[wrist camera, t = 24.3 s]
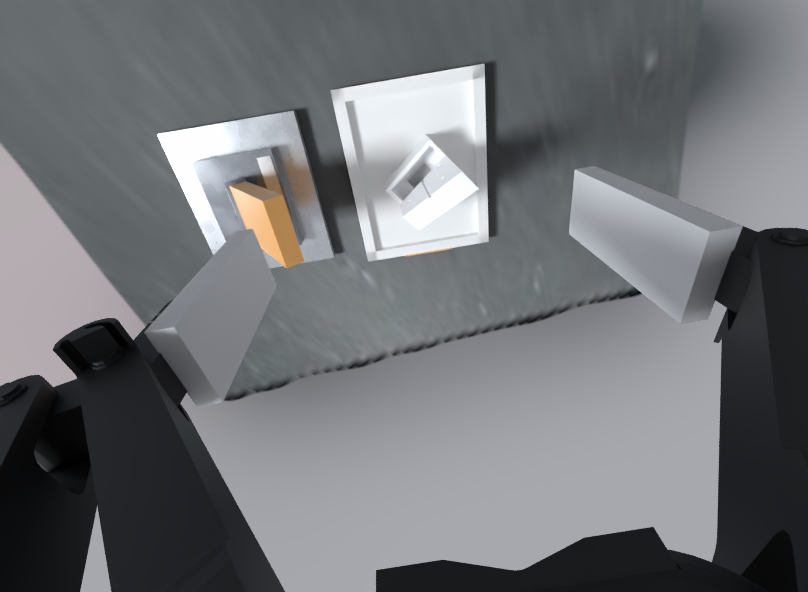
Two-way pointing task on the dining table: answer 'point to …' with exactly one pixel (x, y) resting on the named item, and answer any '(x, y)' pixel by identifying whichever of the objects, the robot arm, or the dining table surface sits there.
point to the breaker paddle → (266, 220)
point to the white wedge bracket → (428, 184)
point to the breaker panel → (249, 176)
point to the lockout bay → (393, 141)
